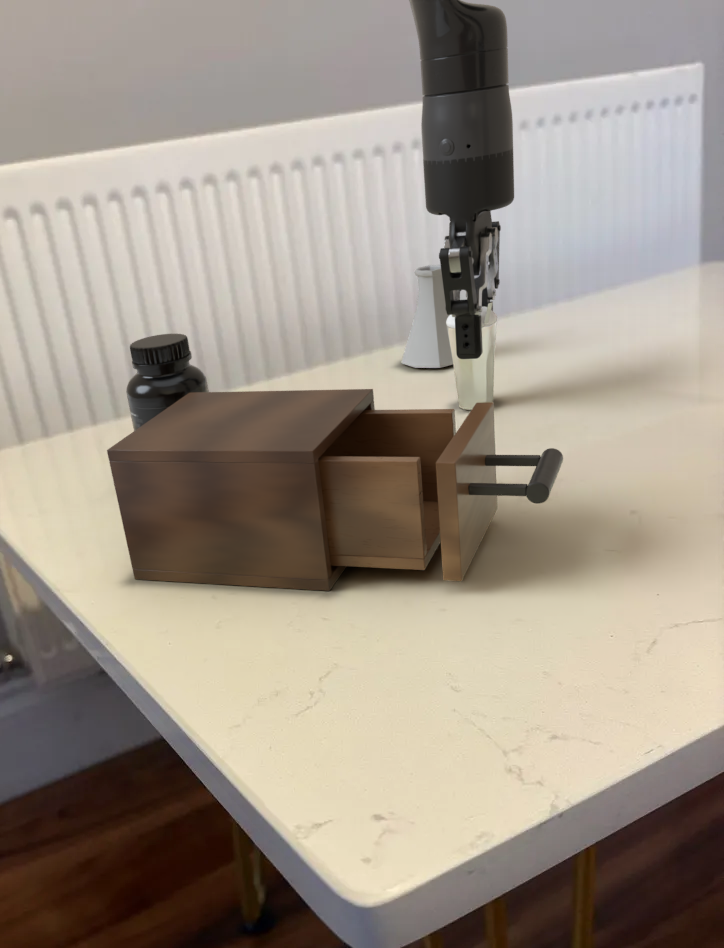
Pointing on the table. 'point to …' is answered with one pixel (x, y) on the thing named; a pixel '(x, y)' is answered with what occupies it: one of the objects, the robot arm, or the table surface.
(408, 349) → the flask
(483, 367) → the milkshake
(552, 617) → the table surface
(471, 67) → the robot arm
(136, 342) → the supplement bottle
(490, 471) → the drawer
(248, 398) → the cabinet
